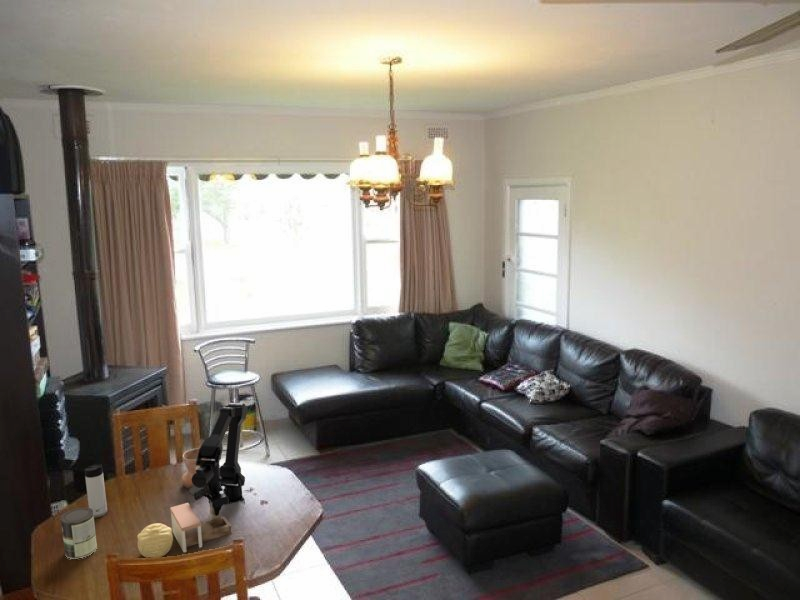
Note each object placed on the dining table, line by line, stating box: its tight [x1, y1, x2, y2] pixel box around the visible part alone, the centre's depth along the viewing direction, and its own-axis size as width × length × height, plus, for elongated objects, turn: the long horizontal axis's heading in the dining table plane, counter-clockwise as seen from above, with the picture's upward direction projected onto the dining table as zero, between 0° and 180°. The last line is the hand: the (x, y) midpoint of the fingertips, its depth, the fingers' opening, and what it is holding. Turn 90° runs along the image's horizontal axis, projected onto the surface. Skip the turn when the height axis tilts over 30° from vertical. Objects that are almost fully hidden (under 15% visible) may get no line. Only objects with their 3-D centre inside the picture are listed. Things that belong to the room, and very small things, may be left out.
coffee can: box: [60, 507, 98, 560], centre depth 224 cm, size 10×10×14 cm
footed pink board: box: [169, 502, 203, 553], centre depth 231 cm, size 6×17×10 cm, turn 32°
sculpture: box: [136, 522, 174, 559], centre depth 222 cm, size 11×12×11 cm
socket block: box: [185, 515, 233, 548], centre depth 234 cm, size 16×8×3 cm, turn 122°
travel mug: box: [84, 463, 108, 518], centre depth 249 cm, size 6×7×20 cm
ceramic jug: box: [181, 447, 208, 490], centre depth 273 cm, size 18×14×14 cm
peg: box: [208, 500, 221, 520], centre depth 244 cm, size 4×4×8 cm
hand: (215, 513), depth 245 cm, fingers closed on peg, 4 cm apart
